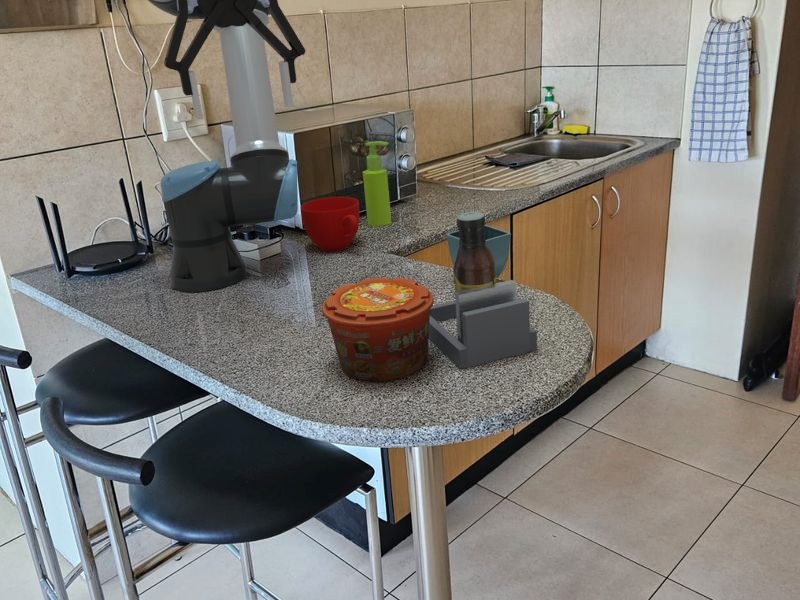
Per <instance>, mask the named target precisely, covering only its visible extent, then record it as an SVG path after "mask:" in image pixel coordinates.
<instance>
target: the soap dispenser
mask: <svg viewBox="0 0 800 600" xmlns="http://www.w3.org/2000/svg"><path fill="white" fill-rule="evenodd" d="M389 144H390V143H389V142H387V141H383V140H382V141H381V140H375V141H368V142H365V147H368V151H369V154H368V155H367V156H365V157H366V158H365V159H366V166H367V168H366V169H365V170H363V171H362V180H363V188H364V200H365V209H366V218H367V225H368V226H369V227H384V226H389V225H390V224H392V213H391V203H390V191H389V180H388V179H389V178H388V169H386V168H384V167H382V161H381V160H382V159H381V158H382V157H381V155H380V154H378V153H377V146H383V147H387V146H388V145H389Z"/></svg>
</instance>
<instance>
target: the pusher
mask: <svg viewBox="0 0 800 600" xmlns="http://www.w3.org/2000/svg"><path fill="white" fill-rule="evenodd" d="M517 294H518V293H517V282H516V281H515V280H514V279H511V280H507V281H506V280H505V281H501V282H497V283H496V284H491V285H488V286H483V287H478V288H473V289H469V290H464V291H459V292H455V291H454V299H455V300H454V301H456V318H455V321H456V333H457V334H456V335H457V338H456V339H457V340H458V341H459V342H460V343H462V344H463V325H462V313H464V312H468V311H472V310H477V309H481V308H486V307H490V306H494V305H499V304H503V303H507V302H512V301H516V300H518V299H517V298H518V297H517Z"/></svg>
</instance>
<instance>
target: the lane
mask: <svg viewBox="0 0 800 600" xmlns="http://www.w3.org/2000/svg"><path fill="white" fill-rule="evenodd" d="M451 319H456V301H455V300H452V301H447V302H442V303H439V304H433V306H432V307H431V308H430V321H429V338H428V340H429V341H430V342H432V344H434V345H435V346H436V347H437V348H438V349H439V350H440V352H442V353H443V355H445V356H446V357H447V358H448V359H449V360H451V362H452V363H453V364H454V365H455V366H456V367H458V369H459V370H463V369H467V368H470V367H475V366H478V365H483V364H486V363H491V362H495V361H498V360H502V359H507V358H510V357H514V356H518V355H523V354H525V353H530V352H534V351H537V350H538V331H537V330H536V329H535V328H533V327H532V326H531V325H530V324H531V323H530V301H529V300H528V299H527V298H521V299H517V300H516V301H512V302H507V303H503V304H499V305H494V306H490V307H486V308H481V309H477V310H472V311H468V312H464V313H462V325H463V344H462V343H460V342H459V341H458V339H457V338H456V337H455V336H454V335H453V334H452V333H451V332H450V331H448V330H447V329H446V328H445V327H444V326H442V324H440V323H439V322H442V320H443V321H447V320H451ZM438 321H439V322H438Z"/></svg>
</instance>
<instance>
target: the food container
mask: <svg viewBox="0 0 800 600" xmlns="http://www.w3.org/2000/svg"><path fill="white" fill-rule="evenodd" d="M434 303H435V299H434V294H433V293H432V291H431V290H429V288H428V287H426V286H425V285H421V284H419V283H418V281H416V280H414V279H410V278H404V277H395V278H393V279H389V278H388V277H387V276H386V277H385V276H383V277H372V278H366V279H365V278H364V279H361V280H360V282H357V283H346V284H344V285H341V286H339V287H337V288H336V289H334V290H333V291H332V292H331V294H330V295H328V296H327V297H326V299H325V300H324V301H323V302H322V304H321V315H322V317H325V321H328V326H329V329H330V333H331V336H332V340H333V343H334V348H335V351H336V355H337V358H338V361H339V366H340V368H341V371H342V372H343V374H344V375H345V376H347V377H348V378H350V379H352V380H355V381H358V382H361V383H387V382H394V381H395V382H396V381H398V380H401V379H402V380H403V379H405V378H407V377H408V378H409V376H412V375H415V374H417V372H420V371H421V370H422V369H423V367H425V365H426V364H427V362H428V356H429V354H428V353H429V321H430V308H431V307H432V306H433V305H434Z"/></svg>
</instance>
